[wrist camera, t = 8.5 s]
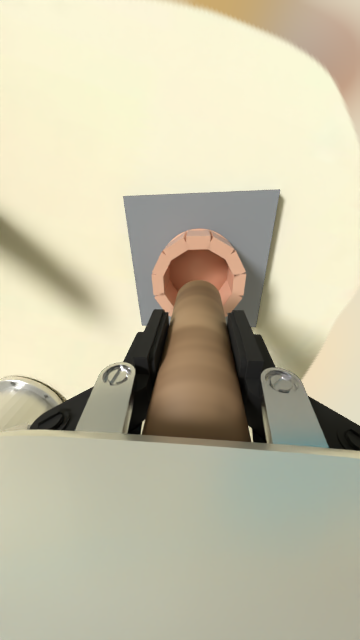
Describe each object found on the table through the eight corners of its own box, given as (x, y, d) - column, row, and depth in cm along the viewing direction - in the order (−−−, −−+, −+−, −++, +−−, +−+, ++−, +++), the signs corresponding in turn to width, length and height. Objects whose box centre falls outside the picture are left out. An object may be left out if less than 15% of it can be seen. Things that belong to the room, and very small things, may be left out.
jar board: (253, 322, 25) (266, 351, 21) (143, 321, 27) (131, 347, 22) (276, 190, 19) (303, 185, 14) (126, 196, 20) (102, 194, 15)
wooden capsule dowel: (219, 321, 15) (259, 572, 5) (177, 320, 16) (130, 556, 5) (222, 279, 14) (291, 523, 3) (175, 280, 14) (102, 503, 4)
